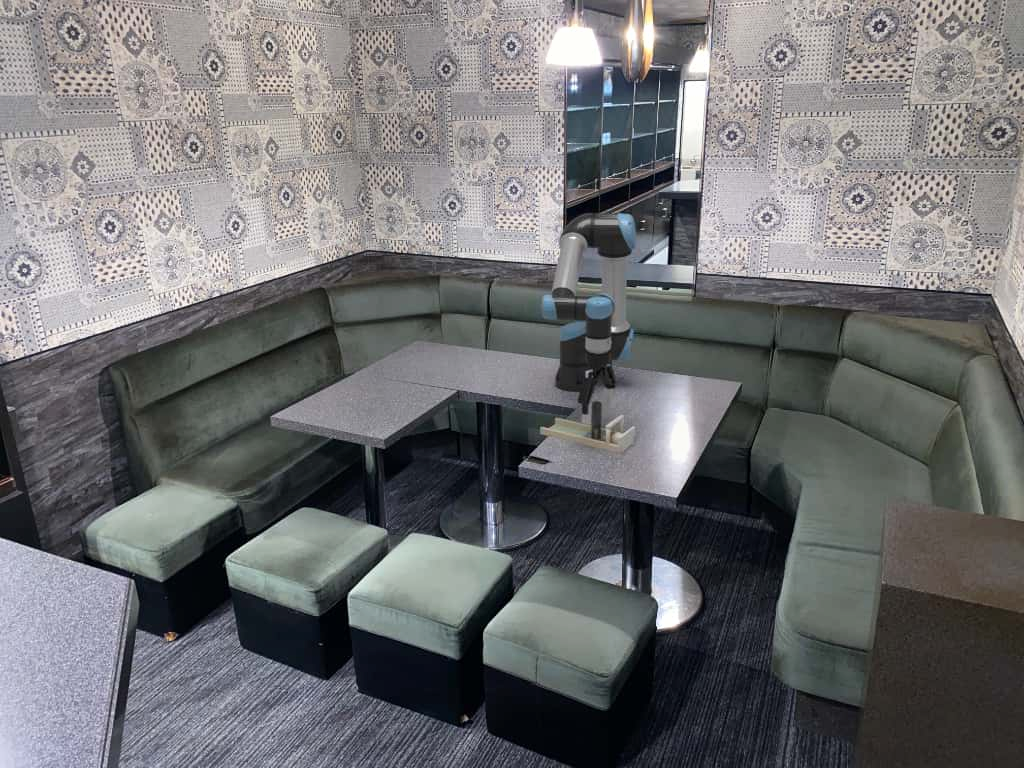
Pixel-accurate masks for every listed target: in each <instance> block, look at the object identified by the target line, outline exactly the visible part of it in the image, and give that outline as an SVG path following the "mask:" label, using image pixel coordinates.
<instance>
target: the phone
mask: <svg viewBox="0 0 1024 768" xmlns="http://www.w3.org/2000/svg"><path fill="white" fill-rule="evenodd" d="M530 455H531V454H527V453H526V454H524V455H523V456H522V461H523V460H524V461H526V459H528V460H527V461H526V462H530V463H534V462H535V463H534V464H539V465H546V464H548V463H549V462H551V460H549V459H545V458H542V457H538V456H533V455H531V456H530ZM529 456H530V457H529ZM528 457H529V458H528Z"/></svg>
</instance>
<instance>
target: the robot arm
mask: <svg viewBox="0 0 1024 768" xmlns="http://www.w3.org/2000/svg"><path fill="white" fill-rule="evenodd" d="M558 241H559V242H558V245H559V246H558V247H559V249H560V250H559V257H558V260H557V265H556V269H555V275H554V279H553V285H552V287H551V288H552V289H551V293H550V294H546V295H545V294H544V295H543V296H542V299H541V316H542V318H544V319H545V320H554V321H575V322H571V323H568V324H565V325H563V326H562V327H561V328H560V330H559V366H558V369H557V371H556V375H555V378H554V386H555V387H557V388H558V389H561V390H563V391H567V392H568V391H569V392H579V394H578V398H577V403H578V404H581V423H582V424H587V425H592V402H591V399H592V397H593V395H594V392H595V389H596V386H597V385H598V383H599V381H601V382H602V385H603V386H604V387H603V388H602V408H604V409H609V410H611V409H612V408H613V390H615V389H616V386H617V385H616V384H617V380H616V376H615V372H614V367H613V361H615V362H618V361H627V360H628V359H629V358H630V356H631V355H630V354H631V350H632V345H633V339H634V332H635V329H634V328H632V327H631V325H630V322H629V321H627V282H628V281H627V279H628V278H627V275H628V272H627V271H628V258H629V257H630V256H631V255H632V251H633V250H635V249H636V248H637V231H636V223H635V219H634V216H632V214H630V213H629V214H628V213H621V212H618V213H611V212H610V213H603V212H602V213H592V212H588V213H583V214H581V215H578V216H577V217H575V218H574V219H572V220H571V221H569V223H568V224H566V226H565V227H564V229H562V232H561V234H560V236H559V240H558ZM587 249H597V256H598V257H600V258H601V293H599V294H596V295H594V296H593V295H591V296H590V295H589V296H588V295H577V289H578V283H579V277H580V272H581V266H582V263H583V262H582V261H583V258H584V257H583V256H584V254H585V253H586V252H587ZM590 402H591V403H590Z"/></svg>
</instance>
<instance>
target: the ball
mask: <svg viewBox="0 0 1024 768" xmlns="http://www.w3.org/2000/svg"><path fill="white" fill-rule="evenodd" d="M621 435H622V434H621V433H619V431H617V433H614V434H613V435H612V437H611V441H612V443H613V444H615V445H618V437H620V436H621Z"/></svg>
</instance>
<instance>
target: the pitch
mask: <svg viewBox="0 0 1024 768" xmlns="http://www.w3.org/2000/svg"><path fill="white" fill-rule="evenodd" d="M624 419H625V415H624V414H620V415H618V416H617V417H616V418H614V419H613V420H612V421H610V422H609V423H607V424H605V428H604V427H601V433H605V434H606V442H603V441H599V440H594V439H590V438H586V437H583V436H584V435H585V434H587V433H588V432H590V431H591V426H592V424H590V425H589V424H585V423H582V422H577V421H573V420H568V419H564V418H560V417H555V419H554V424H553V425H552V426H550V427H548V428H547V427H544V426H540V427H539V428H540V429H539V431H540V432H539V434H540V435H544V436H548V437H552V438H556V439H560V440H564V441H568V442H572V443H576V444H580V445H583V446H588V447H591V448H592V447H593V448H596V449H600V450H604V451H608V452H612V453H616V454H622V453H623V452H625V451H626V450H627V449H628V448H629V447H630V446H632V445H633V444H634V443H635V442H636V426H634V425H633V426H631V427H630V428H629V429H628V430H626V431H625V432H624V422H625V421H624ZM618 423H619V429H618V431H616V430H614V431H615V433H617V432H619V433H621V434H622V435H621V436H620V437H618V445H615V444H613V443H612V442H611V443H610V431H611V430H612V428H613V427H614V426H615V425H617V424H618ZM550 435H551V436H550Z"/></svg>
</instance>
